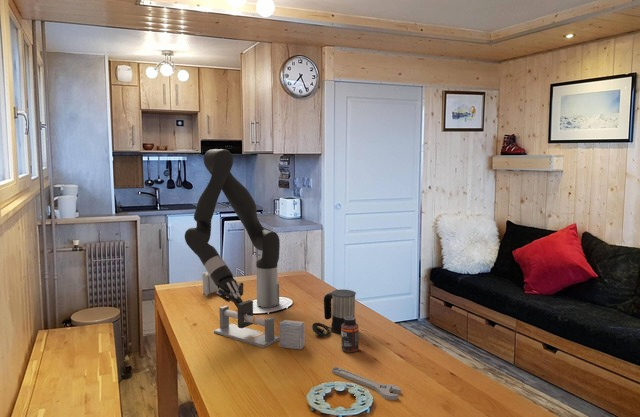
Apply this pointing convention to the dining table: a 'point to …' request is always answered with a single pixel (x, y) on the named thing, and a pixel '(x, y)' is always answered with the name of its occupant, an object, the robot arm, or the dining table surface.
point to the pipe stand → (247, 329)
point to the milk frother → (336, 310)
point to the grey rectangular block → (208, 284)
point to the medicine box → (292, 334)
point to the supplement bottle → (350, 335)
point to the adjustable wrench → (370, 384)
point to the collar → (242, 310)
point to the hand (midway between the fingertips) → (242, 307)
